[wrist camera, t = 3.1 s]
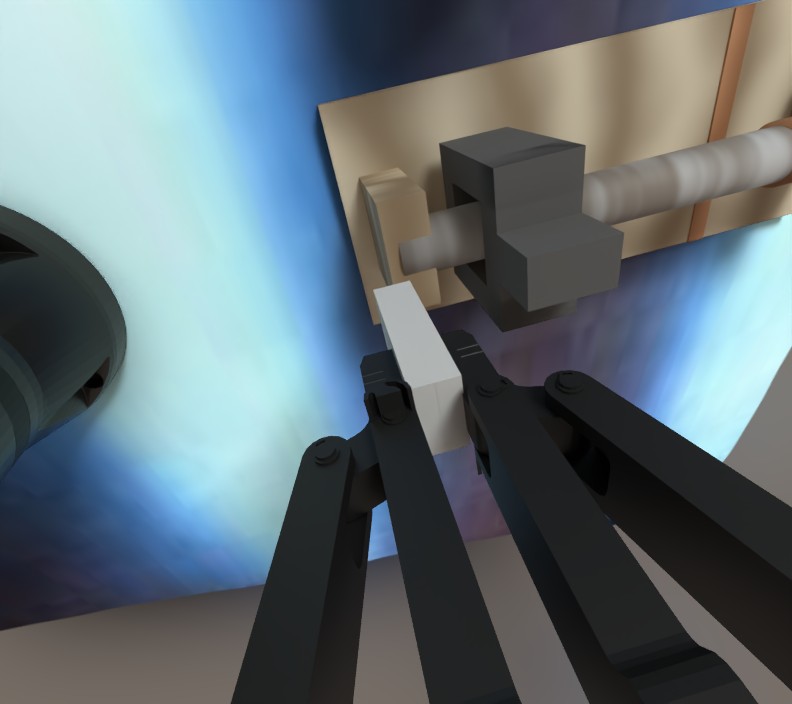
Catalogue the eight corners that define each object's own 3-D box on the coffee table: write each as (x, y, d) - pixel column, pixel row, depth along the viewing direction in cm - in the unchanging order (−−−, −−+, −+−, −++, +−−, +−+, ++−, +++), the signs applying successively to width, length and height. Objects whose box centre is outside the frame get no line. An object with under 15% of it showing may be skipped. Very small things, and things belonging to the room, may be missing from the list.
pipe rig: (371, 317, 32) (392, 382, 25) (317, 104, 24) (325, 115, 17) (787, 206, 34) (912, 239, 27) (863, -24, 26) (1065, -60, 19)
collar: (454, 273, 28) (528, 365, 19) (438, 143, 24) (526, 183, 15) (511, 258, 29) (611, 341, 20) (506, 126, 24) (633, 156, 15)
